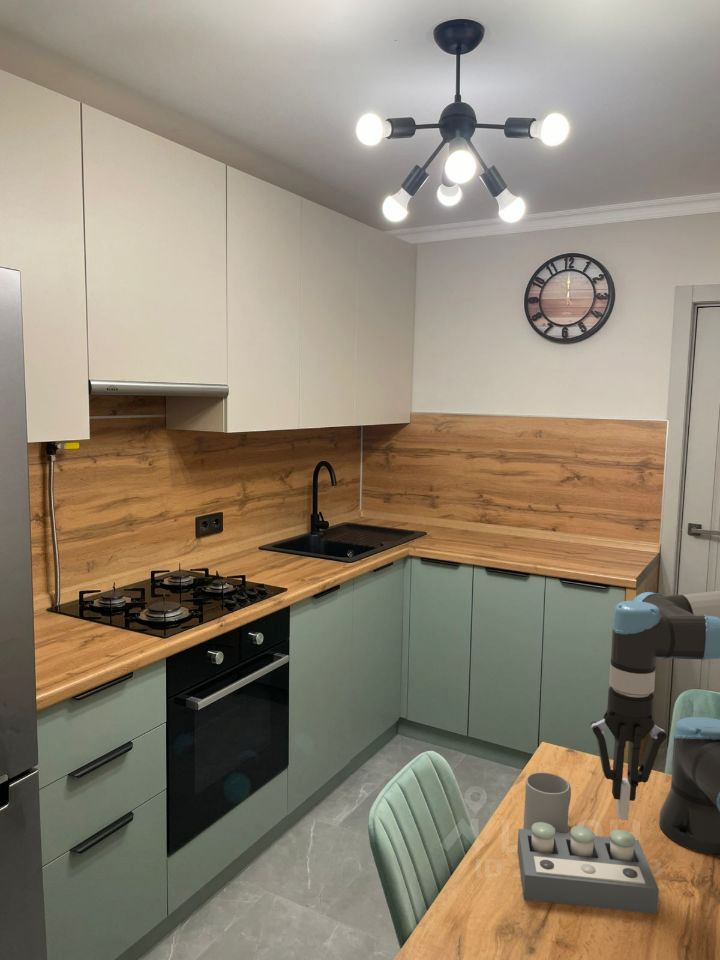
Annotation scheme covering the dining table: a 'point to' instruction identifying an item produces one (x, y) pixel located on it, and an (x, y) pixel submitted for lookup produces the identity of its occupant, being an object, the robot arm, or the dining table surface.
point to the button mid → (582, 841)
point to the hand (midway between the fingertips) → (622, 815)
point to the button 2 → (621, 845)
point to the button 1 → (542, 838)
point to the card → (588, 870)
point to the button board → (582, 888)
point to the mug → (547, 801)
